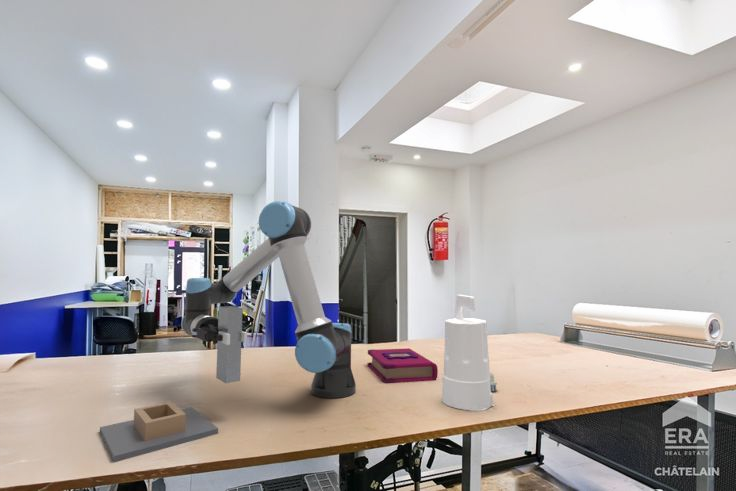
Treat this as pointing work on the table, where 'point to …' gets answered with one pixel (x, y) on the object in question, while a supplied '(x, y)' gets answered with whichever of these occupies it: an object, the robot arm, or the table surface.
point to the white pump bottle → (466, 360)
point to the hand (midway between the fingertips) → (237, 338)
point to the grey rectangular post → (230, 353)
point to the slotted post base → (137, 446)
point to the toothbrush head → (492, 382)
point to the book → (401, 366)
